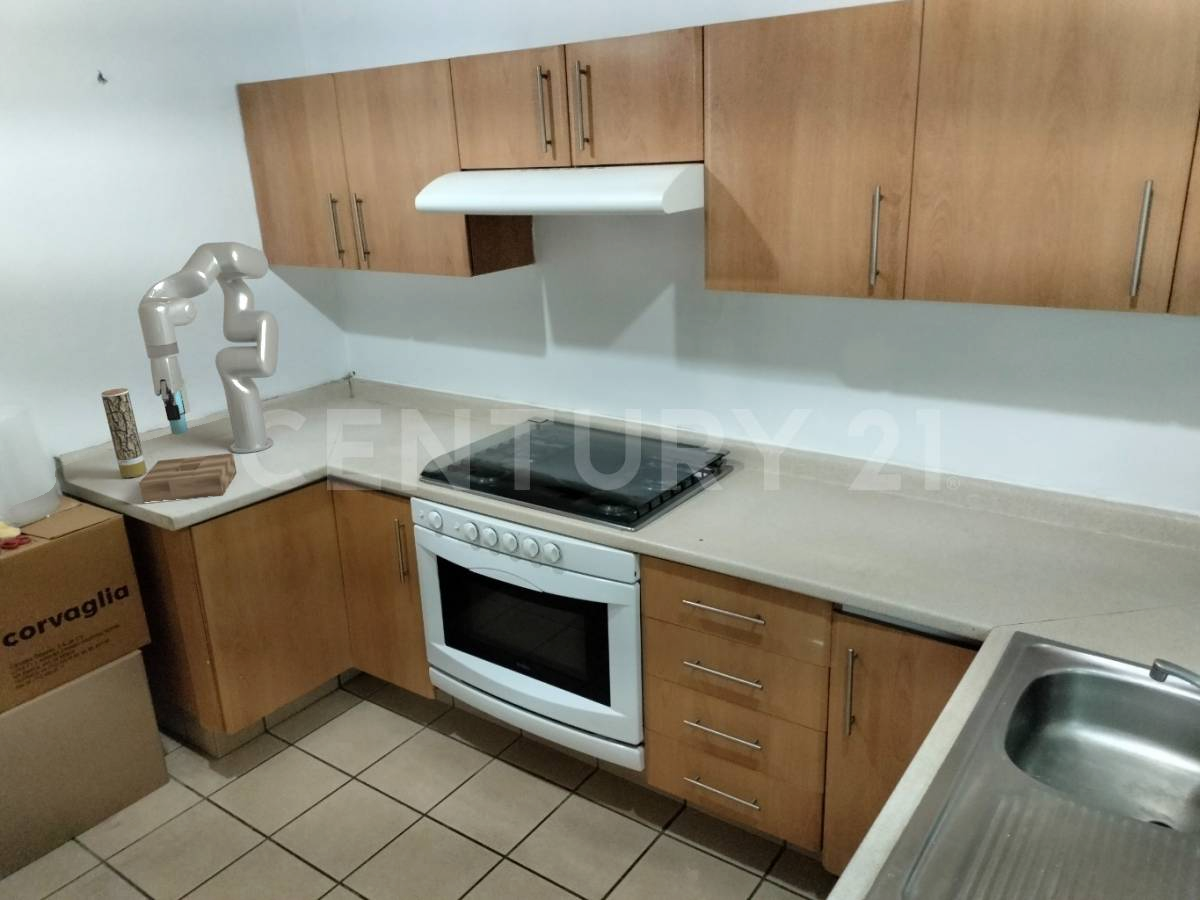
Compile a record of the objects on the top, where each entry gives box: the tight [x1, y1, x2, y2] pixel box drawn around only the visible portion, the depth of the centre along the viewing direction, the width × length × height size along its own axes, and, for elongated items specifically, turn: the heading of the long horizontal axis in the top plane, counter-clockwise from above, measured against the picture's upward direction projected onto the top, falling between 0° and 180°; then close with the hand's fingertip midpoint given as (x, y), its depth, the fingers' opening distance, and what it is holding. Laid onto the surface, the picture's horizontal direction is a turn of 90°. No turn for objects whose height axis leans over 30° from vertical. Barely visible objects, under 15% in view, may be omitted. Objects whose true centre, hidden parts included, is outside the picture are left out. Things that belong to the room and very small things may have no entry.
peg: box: [168, 389, 189, 435], centre depth 241 cm, size 4×4×12 cm
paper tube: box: [101, 388, 147, 479], centre depth 257 cm, size 7×7×25 cm
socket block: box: [138, 452, 238, 503], centre depth 247 cm, size 18×20×6 cm
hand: (176, 416), depth 242 cm, fingers closed on peg, 4 cm apart
